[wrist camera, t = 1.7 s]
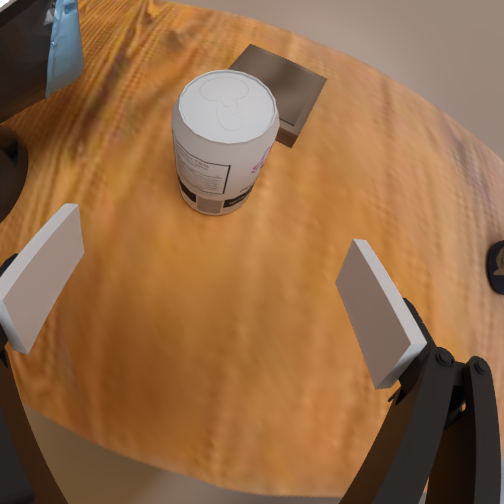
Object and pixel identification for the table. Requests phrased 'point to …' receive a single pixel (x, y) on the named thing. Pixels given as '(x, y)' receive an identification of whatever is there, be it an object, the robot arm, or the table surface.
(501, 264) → the canister
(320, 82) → the stand
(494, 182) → the table surface
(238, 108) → the supplement can
